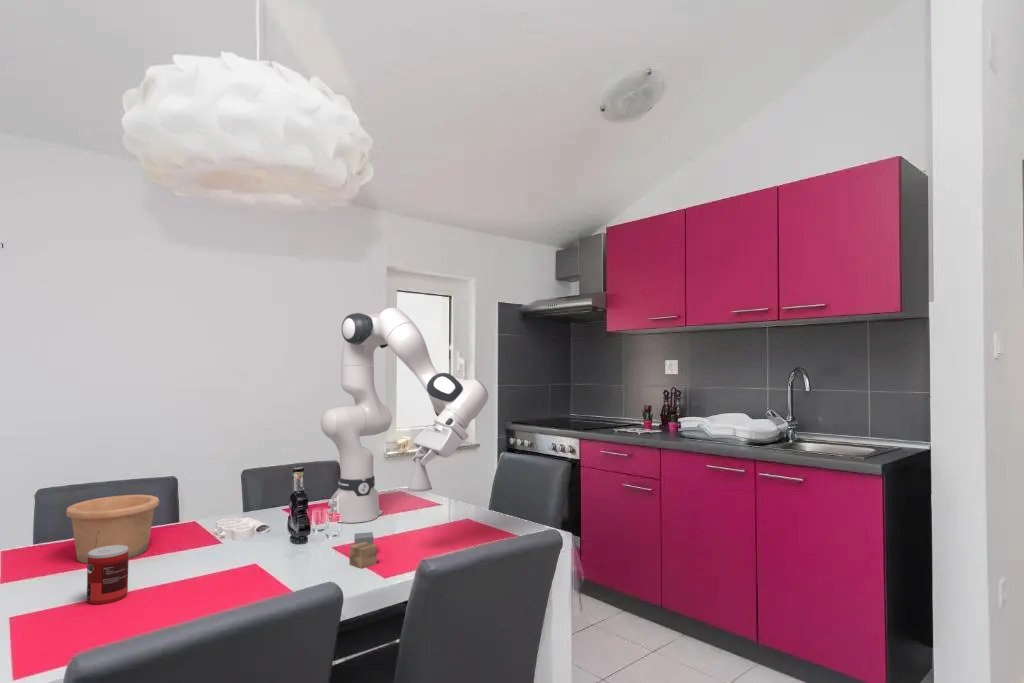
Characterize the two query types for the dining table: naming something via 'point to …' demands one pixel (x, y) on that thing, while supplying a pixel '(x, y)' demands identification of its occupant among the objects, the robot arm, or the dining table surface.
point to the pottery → (112, 523)
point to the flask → (419, 477)
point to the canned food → (107, 574)
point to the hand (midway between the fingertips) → (417, 462)
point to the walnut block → (363, 555)
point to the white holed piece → (239, 528)
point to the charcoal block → (363, 538)
